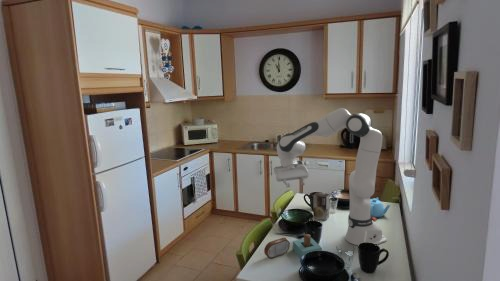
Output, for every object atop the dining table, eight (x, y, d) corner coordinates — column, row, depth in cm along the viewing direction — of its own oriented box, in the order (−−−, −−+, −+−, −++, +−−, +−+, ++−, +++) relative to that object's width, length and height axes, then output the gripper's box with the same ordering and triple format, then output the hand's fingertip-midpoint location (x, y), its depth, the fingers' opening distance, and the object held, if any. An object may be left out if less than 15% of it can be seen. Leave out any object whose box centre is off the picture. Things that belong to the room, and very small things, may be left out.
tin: (287, 249, 170) (287, 235, 168) (290, 252, 167) (290, 237, 166) (263, 258, 162) (263, 243, 161) (267, 260, 160) (267, 245, 158)
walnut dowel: (308, 250, 168) (308, 233, 166) (311, 254, 165) (311, 236, 163) (302, 251, 167) (302, 234, 165) (305, 255, 164) (305, 237, 162)
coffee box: (329, 217, 208) (330, 193, 205) (326, 220, 203) (326, 197, 200) (316, 214, 213) (316, 191, 210) (312, 217, 208) (313, 194, 205)
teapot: (357, 210, 218) (357, 195, 216) (377, 208, 221) (377, 193, 219) (369, 219, 203) (370, 204, 201) (390, 217, 206) (391, 202, 204)
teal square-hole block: (311, 246, 173) (311, 237, 172) (321, 256, 162) (321, 247, 161) (293, 249, 170) (293, 241, 169) (302, 260, 159) (302, 251, 158)
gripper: (274, 164, 184) (280, 185, 177) (305, 161, 190) (313, 181, 183) (271, 169, 189) (277, 190, 182) (302, 166, 195) (309, 186, 188)
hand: (295, 185), depth 183 cm, fingers open, 8 cm apart
